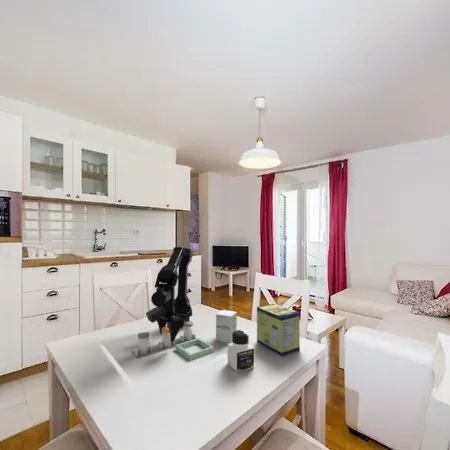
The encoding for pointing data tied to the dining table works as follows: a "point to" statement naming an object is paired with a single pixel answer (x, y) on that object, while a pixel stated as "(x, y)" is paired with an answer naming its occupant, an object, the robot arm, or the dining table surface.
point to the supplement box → (225, 326)
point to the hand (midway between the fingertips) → (167, 337)
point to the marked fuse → (166, 337)
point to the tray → (194, 355)
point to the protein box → (278, 329)
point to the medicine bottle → (240, 351)
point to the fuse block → (147, 349)
